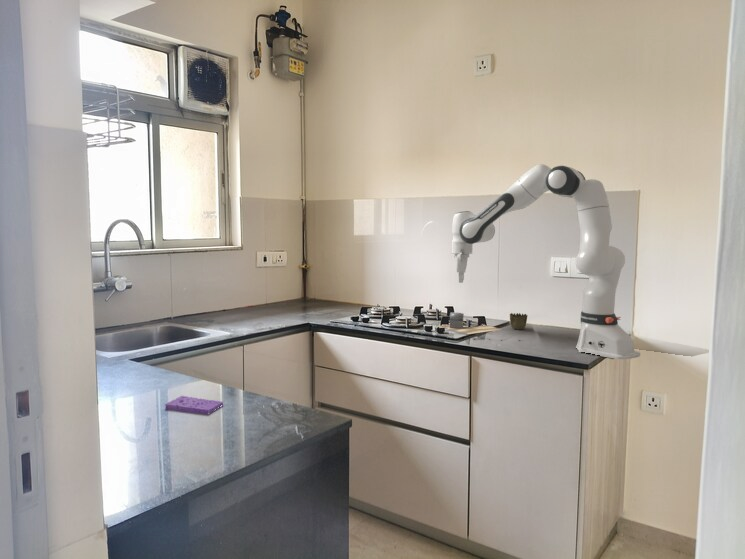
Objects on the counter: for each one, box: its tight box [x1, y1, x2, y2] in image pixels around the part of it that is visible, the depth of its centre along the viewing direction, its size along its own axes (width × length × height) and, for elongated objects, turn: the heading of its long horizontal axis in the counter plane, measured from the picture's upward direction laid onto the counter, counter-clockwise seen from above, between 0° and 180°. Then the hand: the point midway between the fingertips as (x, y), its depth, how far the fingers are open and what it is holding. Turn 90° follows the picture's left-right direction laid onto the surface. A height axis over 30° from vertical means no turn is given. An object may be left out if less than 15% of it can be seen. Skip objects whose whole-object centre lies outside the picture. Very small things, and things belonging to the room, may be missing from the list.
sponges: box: [164, 395, 224, 415], centre depth 144 cm, size 7×13×2 cm, turn 73°
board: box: [436, 324, 503, 335], centre depth 247 cm, size 20×20×2 cm
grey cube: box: [449, 312, 465, 329], centre depth 247 cm, size 6×6×6 cm
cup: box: [509, 312, 528, 331], centre depth 245 cm, size 8×7×8 cm
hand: (461, 281), depth 246 cm, fingers open, 8 cm apart
